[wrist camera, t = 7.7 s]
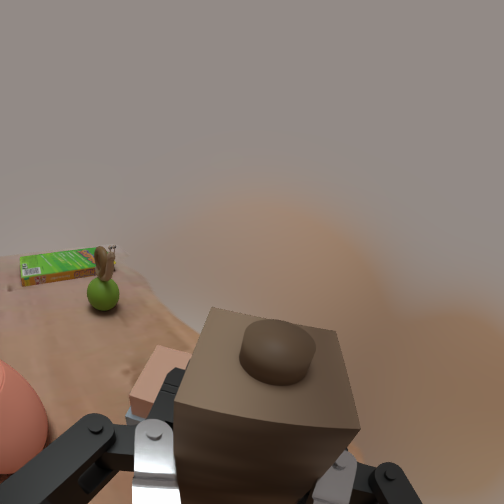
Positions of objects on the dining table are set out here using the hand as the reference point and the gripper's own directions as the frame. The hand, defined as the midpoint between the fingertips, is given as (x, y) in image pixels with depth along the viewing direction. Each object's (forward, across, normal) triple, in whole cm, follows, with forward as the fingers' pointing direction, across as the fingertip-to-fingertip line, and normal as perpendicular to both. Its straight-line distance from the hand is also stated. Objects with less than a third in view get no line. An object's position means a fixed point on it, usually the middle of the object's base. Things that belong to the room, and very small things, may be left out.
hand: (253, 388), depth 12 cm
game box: (+35, +38, +19) cm, 54 cm away
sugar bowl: (-3, +22, +18) cm, 28 cm away
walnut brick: (-3, 0, +6) cm, 7 cm away
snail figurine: (+26, +23, +18) cm, 39 cm away
